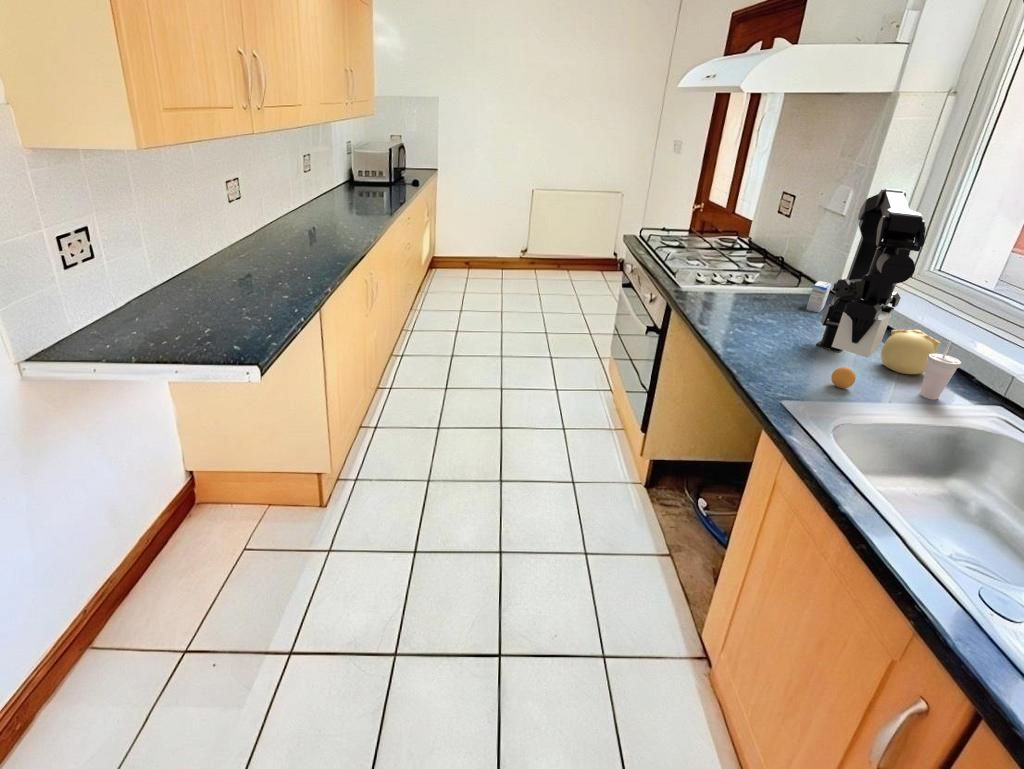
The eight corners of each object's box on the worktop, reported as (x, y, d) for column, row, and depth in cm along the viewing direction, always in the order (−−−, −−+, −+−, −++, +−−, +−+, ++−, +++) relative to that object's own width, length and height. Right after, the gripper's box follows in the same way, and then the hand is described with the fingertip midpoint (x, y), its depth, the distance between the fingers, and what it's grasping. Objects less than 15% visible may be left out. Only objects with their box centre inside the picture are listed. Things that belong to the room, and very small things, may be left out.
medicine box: (810, 304, 198) (817, 280, 194) (824, 307, 196) (832, 283, 192) (805, 309, 192) (813, 284, 188) (819, 313, 190) (828, 287, 186)
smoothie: (932, 390, 138) (955, 336, 132) (951, 402, 133) (976, 347, 126) (906, 389, 138) (929, 335, 132) (925, 401, 132) (949, 345, 126)
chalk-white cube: (878, 349, 132) (891, 313, 128) (867, 357, 127) (881, 320, 123) (843, 339, 137) (855, 304, 133) (831, 346, 132) (843, 310, 128)
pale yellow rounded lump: (931, 371, 150) (948, 332, 145) (921, 383, 142) (938, 343, 137) (883, 357, 157) (897, 319, 152) (870, 368, 149) (885, 329, 144)
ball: (863, 378, 134) (845, 389, 138) (849, 361, 136) (831, 372, 140) (855, 383, 131) (837, 394, 135) (841, 365, 133) (823, 377, 136)
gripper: (858, 258, 135) (837, 321, 142) (830, 269, 123) (808, 336, 130) (911, 269, 128) (887, 334, 135) (887, 282, 116) (861, 352, 123)
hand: (860, 339), depth 131 cm, fingers closed on chalk-white cube, 8 cm apart
